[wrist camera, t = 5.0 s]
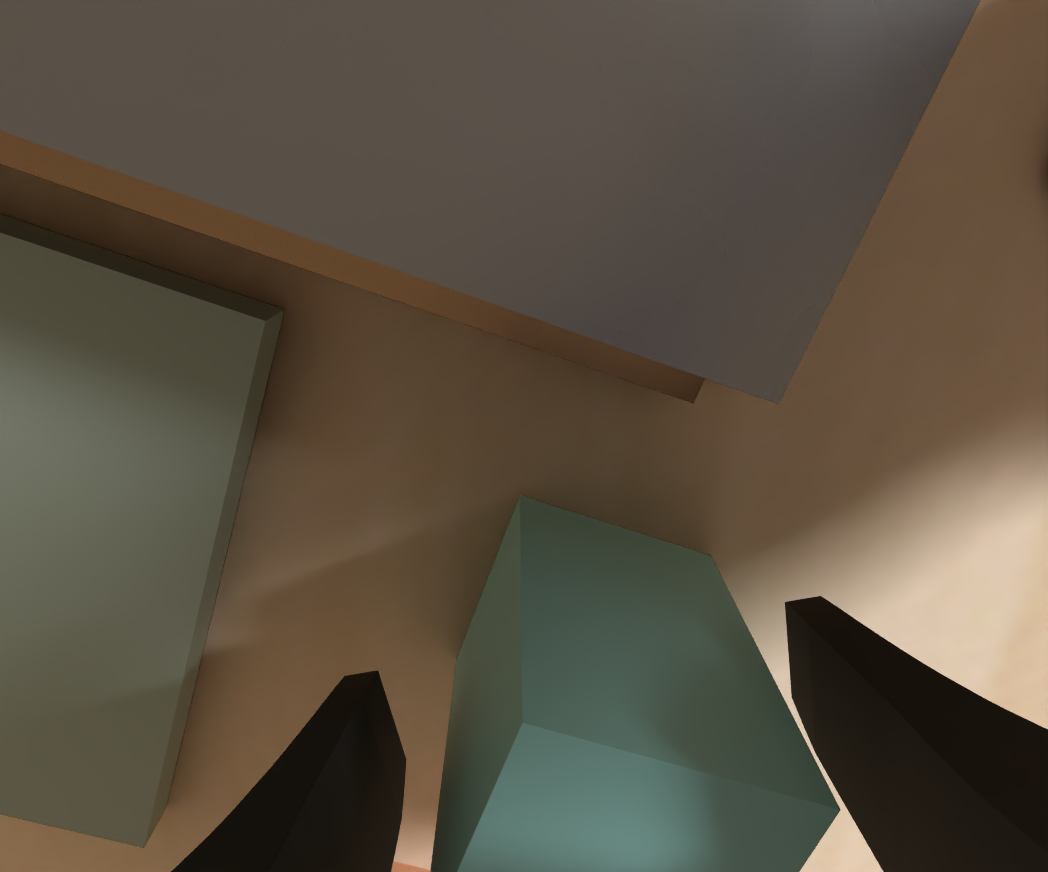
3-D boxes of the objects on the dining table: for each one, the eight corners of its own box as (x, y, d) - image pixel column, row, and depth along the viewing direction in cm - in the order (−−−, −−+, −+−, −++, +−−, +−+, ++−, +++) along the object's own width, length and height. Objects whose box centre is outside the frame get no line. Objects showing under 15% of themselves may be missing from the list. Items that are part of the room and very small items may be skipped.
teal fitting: (710, 554, 14) (840, 810, 8) (633, 708, 15) (700, 1019, 10) (519, 494, 14) (523, 723, 8) (456, 659, 15) (420, 955, 9)
